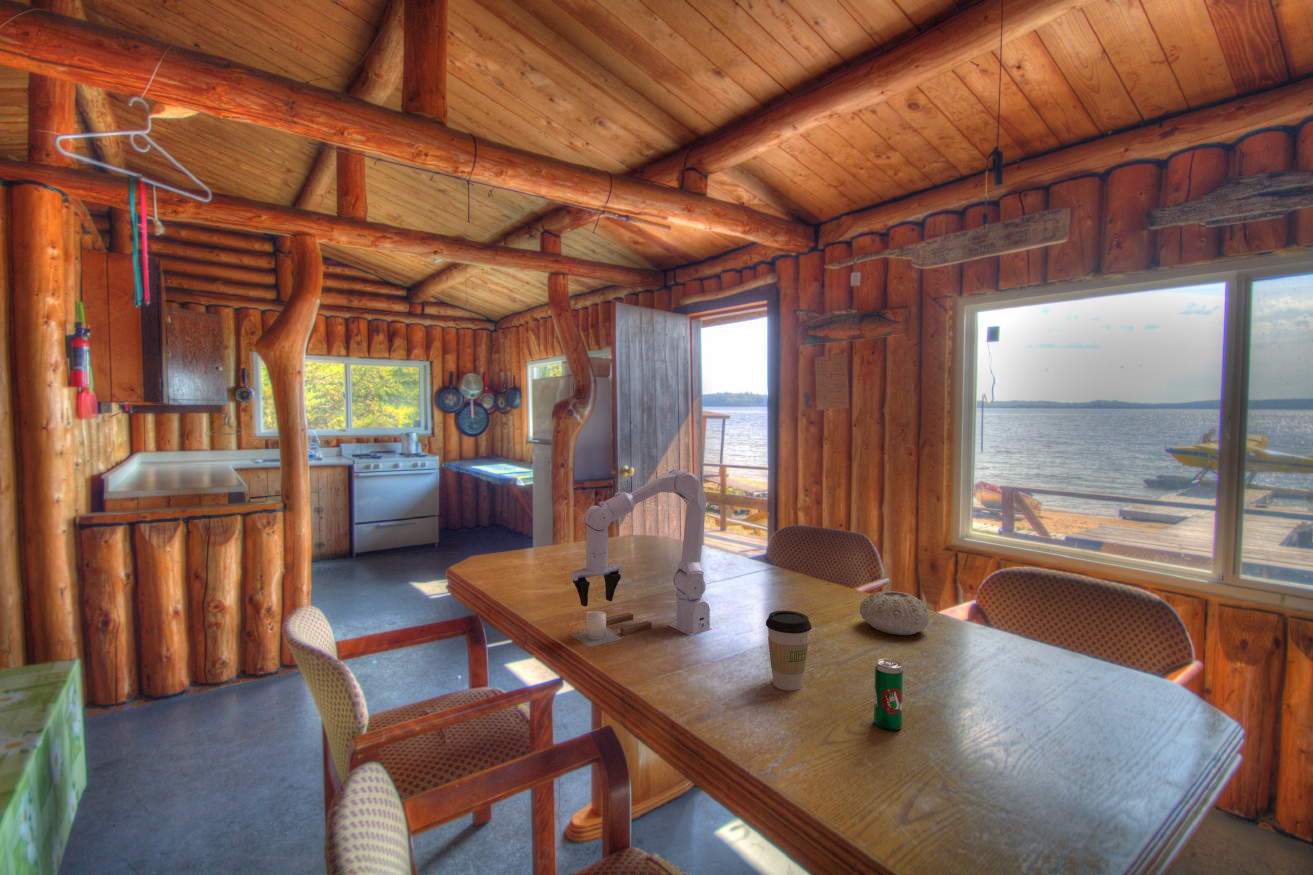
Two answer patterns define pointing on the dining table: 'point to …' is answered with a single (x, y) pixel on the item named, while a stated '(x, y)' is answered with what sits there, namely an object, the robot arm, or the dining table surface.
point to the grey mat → (590, 643)
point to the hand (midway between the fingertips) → (596, 603)
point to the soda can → (888, 694)
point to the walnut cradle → (627, 624)
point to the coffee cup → (788, 648)
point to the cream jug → (596, 625)
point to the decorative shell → (894, 612)
